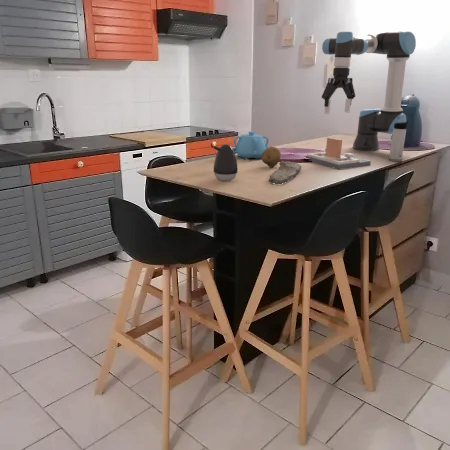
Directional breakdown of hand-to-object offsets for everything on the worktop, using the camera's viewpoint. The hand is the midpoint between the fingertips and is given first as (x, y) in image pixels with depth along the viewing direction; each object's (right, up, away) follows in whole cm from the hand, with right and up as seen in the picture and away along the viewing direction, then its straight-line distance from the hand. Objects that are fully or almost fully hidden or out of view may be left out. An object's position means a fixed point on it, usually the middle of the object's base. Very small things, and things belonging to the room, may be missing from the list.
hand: (337, 113), depth 215 cm
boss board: (+2, -23, +9) cm, 25 cm away
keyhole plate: (0, -21, +8) cm, 23 cm away
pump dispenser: (-55, -36, -29) cm, 72 cm away
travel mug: (+35, -21, +17) cm, 45 cm away
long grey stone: (-28, -34, -20) cm, 48 cm away
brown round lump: (-33, -28, -5) cm, 44 cm away
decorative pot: (-42, -19, +18) cm, 49 cm away
